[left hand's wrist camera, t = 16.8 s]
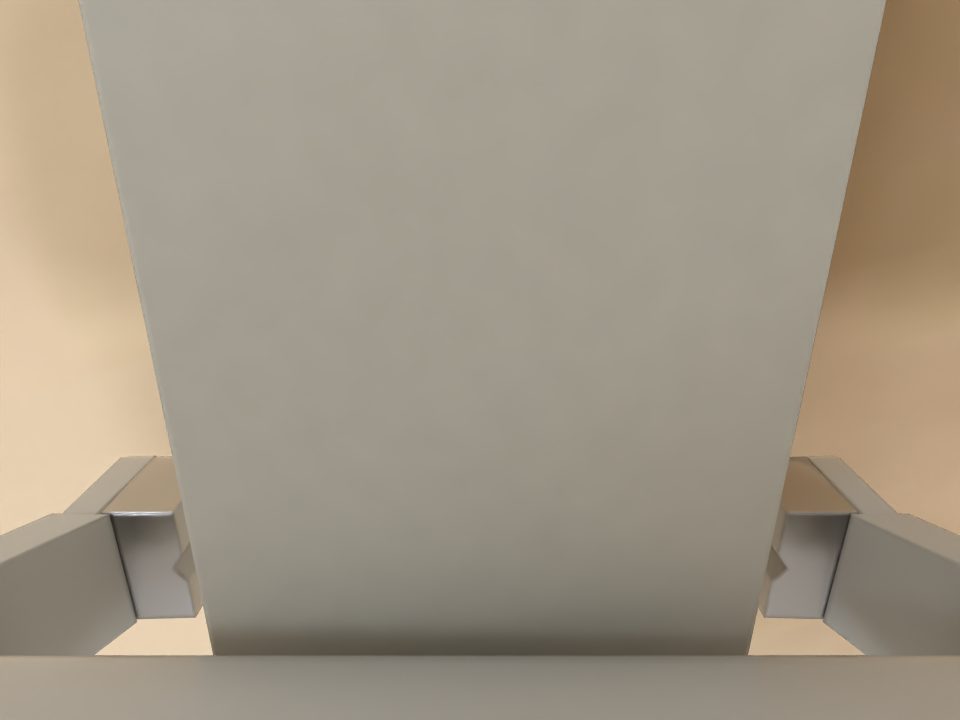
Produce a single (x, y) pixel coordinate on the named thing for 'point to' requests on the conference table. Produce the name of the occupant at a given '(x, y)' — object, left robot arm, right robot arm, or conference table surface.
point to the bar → (481, 305)
